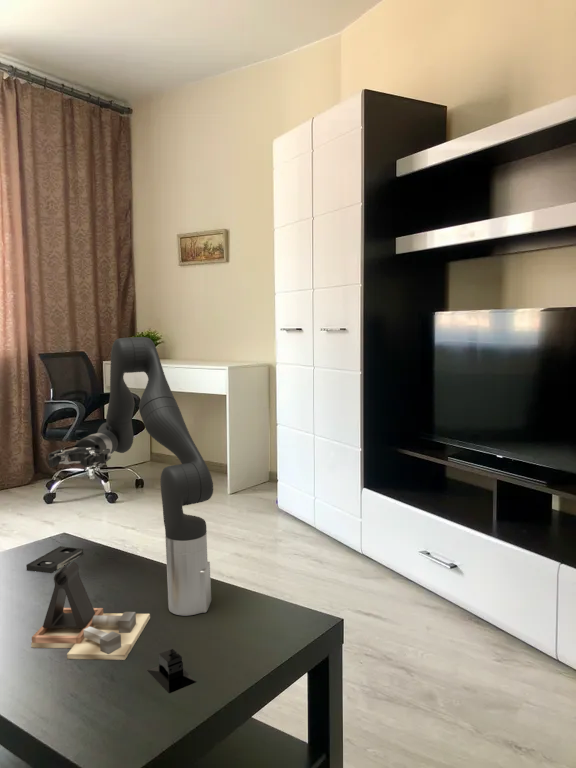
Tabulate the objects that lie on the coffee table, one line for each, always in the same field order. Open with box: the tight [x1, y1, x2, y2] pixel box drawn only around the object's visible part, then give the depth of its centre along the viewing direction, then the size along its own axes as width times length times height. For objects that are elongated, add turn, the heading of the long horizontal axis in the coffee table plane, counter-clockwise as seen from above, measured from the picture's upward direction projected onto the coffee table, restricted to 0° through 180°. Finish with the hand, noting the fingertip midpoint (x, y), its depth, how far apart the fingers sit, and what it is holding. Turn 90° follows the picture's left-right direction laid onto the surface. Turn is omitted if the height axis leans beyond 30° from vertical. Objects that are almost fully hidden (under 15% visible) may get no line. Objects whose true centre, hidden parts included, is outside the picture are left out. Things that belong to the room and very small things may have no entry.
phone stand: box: [42, 561, 95, 628], centre depth 131 cm, size 9×6×12 cm, turn 87°
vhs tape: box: [26, 545, 84, 574], centre depth 171 cm, size 14×8×2 cm, turn 163°
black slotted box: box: [147, 648, 198, 694], centre depth 114 cm, size 12×7×5 cm, turn 37°
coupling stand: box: [30, 607, 151, 661], centre depth 129 cm, size 21×17×4 cm
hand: (68, 462), depth 149 cm, fingers open, 8 cm apart
